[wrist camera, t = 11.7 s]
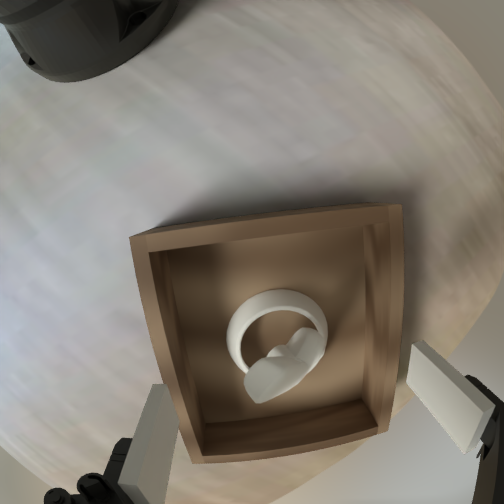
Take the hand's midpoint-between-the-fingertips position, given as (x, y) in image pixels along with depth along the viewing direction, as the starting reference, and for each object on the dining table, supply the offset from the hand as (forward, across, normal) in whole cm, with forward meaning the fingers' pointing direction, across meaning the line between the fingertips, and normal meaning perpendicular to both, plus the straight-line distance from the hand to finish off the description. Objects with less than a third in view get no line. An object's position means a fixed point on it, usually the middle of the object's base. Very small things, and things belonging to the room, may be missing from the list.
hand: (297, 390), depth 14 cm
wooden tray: (+9, 0, -1) cm, 9 cm away
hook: (+8, 0, -1) cm, 8 cm away
